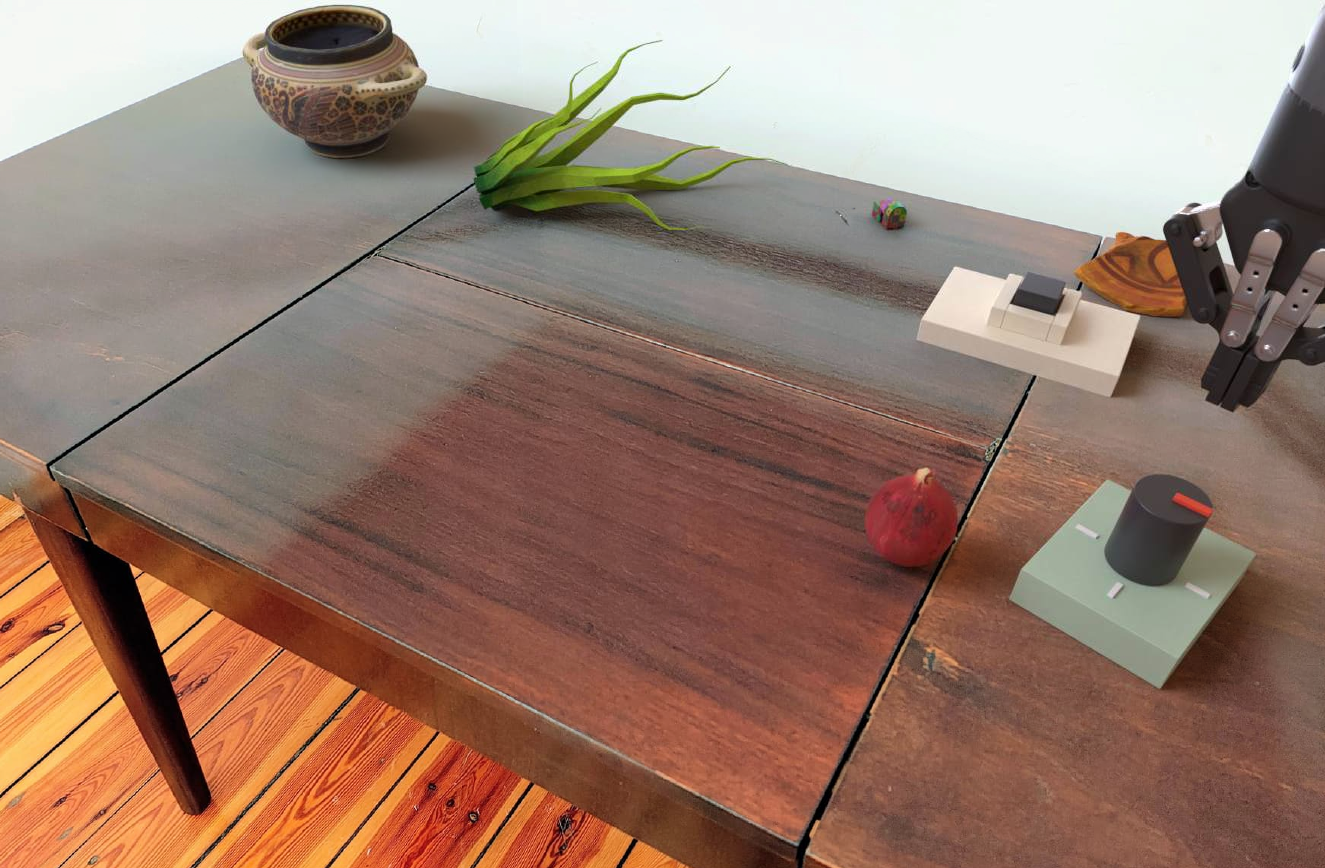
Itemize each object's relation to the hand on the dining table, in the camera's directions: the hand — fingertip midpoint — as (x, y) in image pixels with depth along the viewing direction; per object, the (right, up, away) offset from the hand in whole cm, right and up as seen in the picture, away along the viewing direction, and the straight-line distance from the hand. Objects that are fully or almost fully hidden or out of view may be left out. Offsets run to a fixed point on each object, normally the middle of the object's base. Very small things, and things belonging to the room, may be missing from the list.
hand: (1224, 400), depth 57 cm
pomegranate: (-14, -10, +13) cm, 22 cm away
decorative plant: (-31, +25, +51) cm, 65 cm away
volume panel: (0, -12, +11) cm, 16 cm away
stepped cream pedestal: (+2, +8, +32) cm, 33 cm away
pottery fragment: (+15, +13, +38) cm, 43 cm away
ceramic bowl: (-63, +34, +61) cm, 94 cm away
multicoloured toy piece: (-5, +22, +47) cm, 52 cm away
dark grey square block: (+2, +10, +30) cm, 32 cm away
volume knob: (0, -10, +9) cm, 13 cm away
